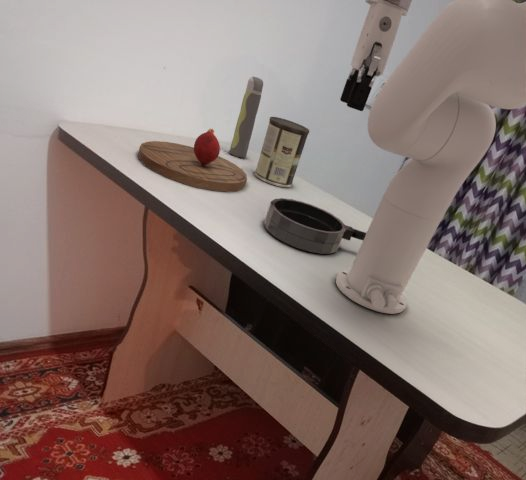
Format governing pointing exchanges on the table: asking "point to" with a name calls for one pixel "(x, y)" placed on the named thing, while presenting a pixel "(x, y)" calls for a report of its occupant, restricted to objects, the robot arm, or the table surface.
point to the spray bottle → (247, 118)
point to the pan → (304, 226)
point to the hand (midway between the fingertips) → (350, 105)
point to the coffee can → (281, 152)
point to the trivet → (191, 167)
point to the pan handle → (353, 233)
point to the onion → (206, 147)
